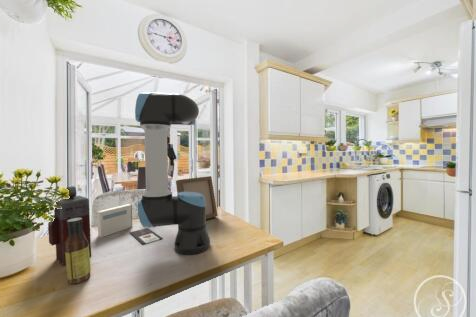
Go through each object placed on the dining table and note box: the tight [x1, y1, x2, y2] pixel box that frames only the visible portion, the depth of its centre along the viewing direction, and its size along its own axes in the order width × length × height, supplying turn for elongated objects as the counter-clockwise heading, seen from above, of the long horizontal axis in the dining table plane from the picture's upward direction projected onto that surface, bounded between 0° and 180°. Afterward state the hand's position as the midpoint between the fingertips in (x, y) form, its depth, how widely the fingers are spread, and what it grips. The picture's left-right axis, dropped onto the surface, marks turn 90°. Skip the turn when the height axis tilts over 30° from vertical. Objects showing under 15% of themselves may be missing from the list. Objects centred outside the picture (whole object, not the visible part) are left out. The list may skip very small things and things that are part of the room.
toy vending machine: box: [47, 185, 92, 267], centre depth 84 cm, size 9×11×28 cm
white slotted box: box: [96, 203, 133, 238], centre depth 112 cm, size 16×3×12 cm, turn 150°
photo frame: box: [175, 175, 218, 220], centre depth 130 cm, size 15×22×25 cm
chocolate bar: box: [129, 227, 163, 246], centre depth 106 cm, size 9×1×18 cm
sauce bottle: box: [65, 218, 92, 285], centre depth 71 cm, size 7×6×20 cm
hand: (162, 171), depth 134 cm, fingers open, 13 cm apart
